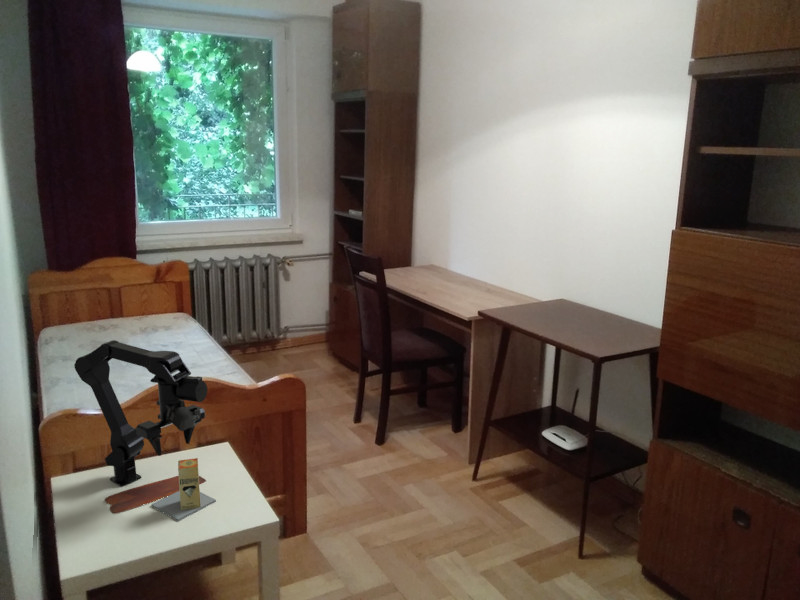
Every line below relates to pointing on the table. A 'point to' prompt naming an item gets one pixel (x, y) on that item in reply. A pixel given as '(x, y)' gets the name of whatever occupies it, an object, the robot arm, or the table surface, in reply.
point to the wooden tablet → (144, 494)
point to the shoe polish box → (189, 483)
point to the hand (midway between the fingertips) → (173, 449)
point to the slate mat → (173, 505)
